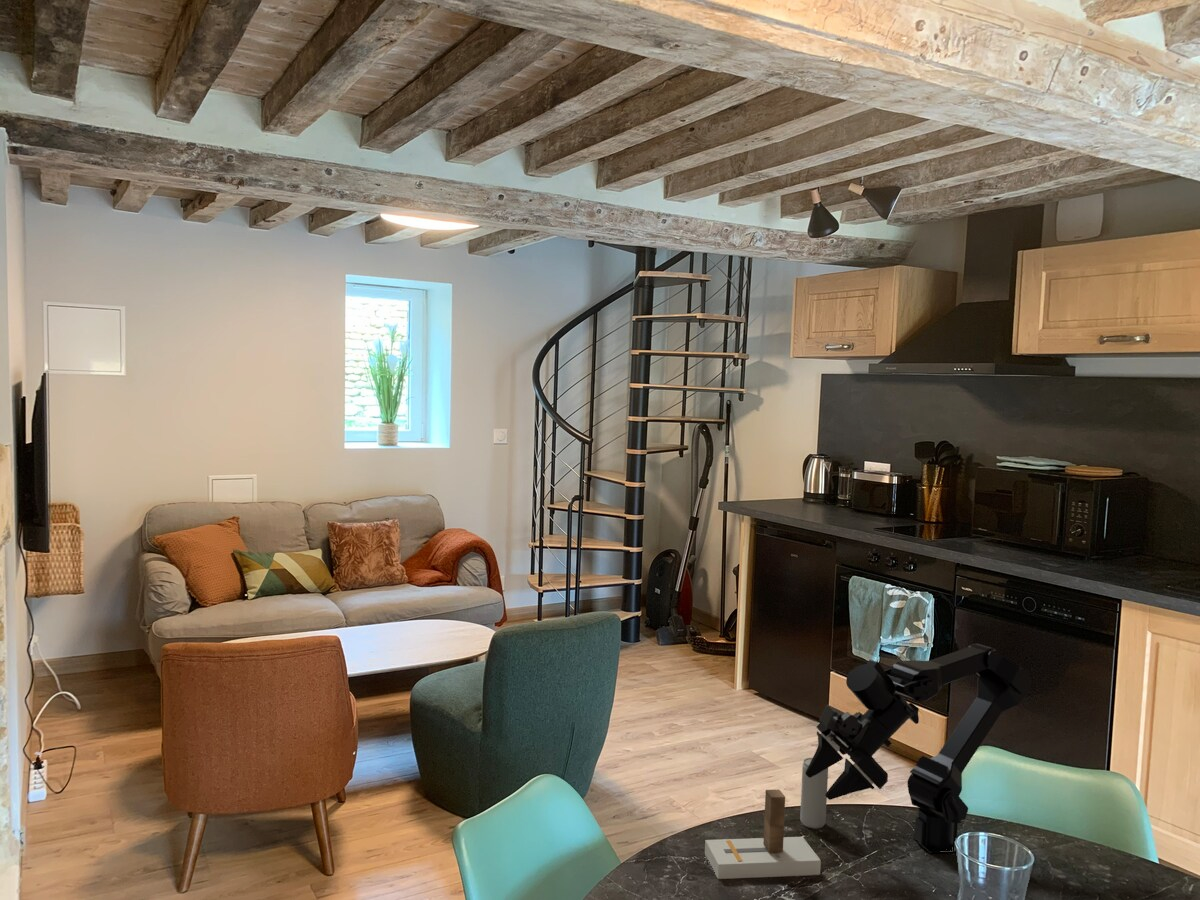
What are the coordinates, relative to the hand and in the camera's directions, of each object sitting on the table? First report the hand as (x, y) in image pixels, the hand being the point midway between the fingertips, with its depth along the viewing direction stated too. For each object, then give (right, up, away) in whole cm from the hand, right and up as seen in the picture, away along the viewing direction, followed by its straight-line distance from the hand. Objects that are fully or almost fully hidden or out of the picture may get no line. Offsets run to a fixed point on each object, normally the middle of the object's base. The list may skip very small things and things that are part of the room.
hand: (816, 786), depth 157 cm
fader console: (-10, -13, -1) cm, 17 cm away
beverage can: (+3, -13, +16) cm, 21 cm away
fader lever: (-8, -11, -1) cm, 13 cm away
